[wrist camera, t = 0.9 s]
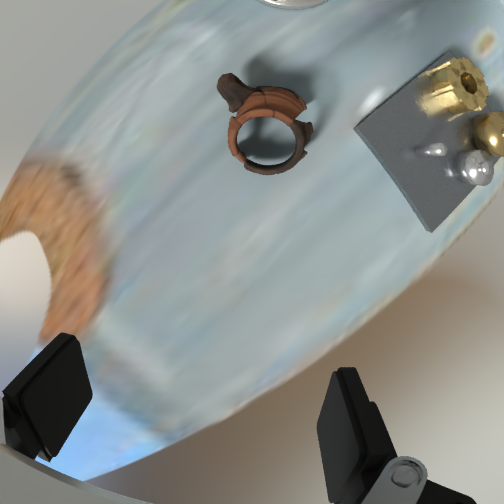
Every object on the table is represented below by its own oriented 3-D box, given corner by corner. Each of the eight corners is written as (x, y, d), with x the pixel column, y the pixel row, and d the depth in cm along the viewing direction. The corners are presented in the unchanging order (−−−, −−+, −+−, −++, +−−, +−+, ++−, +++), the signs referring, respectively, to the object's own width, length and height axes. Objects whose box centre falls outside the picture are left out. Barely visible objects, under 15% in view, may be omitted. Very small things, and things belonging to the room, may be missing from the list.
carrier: (444, 53, 28) (470, 40, 22) (502, 146, 31) (531, 146, 24) (353, 129, 32) (372, 121, 26) (426, 230, 35) (452, 241, 28)
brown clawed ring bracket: (327, 116, 32) (334, 144, 26) (273, 163, 38) (266, 199, 32) (249, 47, 27) (235, 57, 22) (199, 104, 33) (175, 129, 27)
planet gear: (449, 56, 27) (464, 48, 23) (478, 98, 28) (495, 94, 24) (421, 78, 28) (437, 71, 24) (453, 123, 29) (471, 120, 26)
